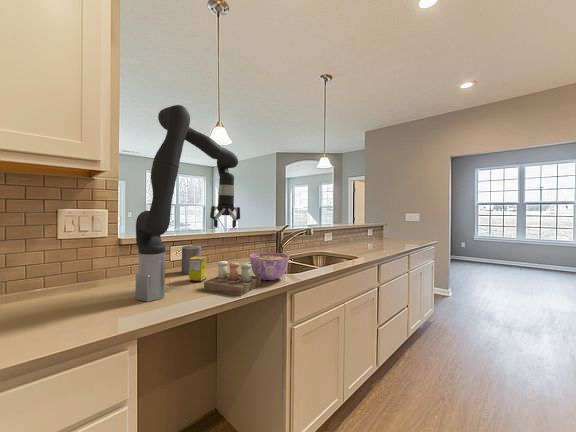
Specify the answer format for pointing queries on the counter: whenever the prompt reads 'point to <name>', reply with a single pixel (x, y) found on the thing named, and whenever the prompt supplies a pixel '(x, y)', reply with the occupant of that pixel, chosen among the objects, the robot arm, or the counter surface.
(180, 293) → the counter surface
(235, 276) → the terracotta shaker
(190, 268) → the supplement box
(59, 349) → the counter surface
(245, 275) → the pale green shaker
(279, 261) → the bowl of food
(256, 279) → the walnut board
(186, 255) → the pillar candle
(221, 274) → the white shaker
